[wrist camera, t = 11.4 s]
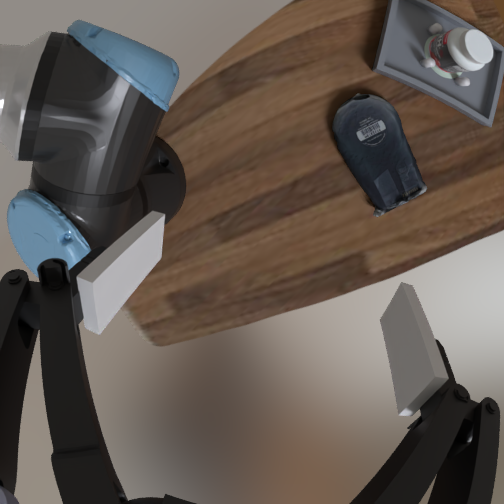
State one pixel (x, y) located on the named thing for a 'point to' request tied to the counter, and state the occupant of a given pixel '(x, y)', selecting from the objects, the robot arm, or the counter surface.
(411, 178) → the electronic device
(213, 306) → the counter surface
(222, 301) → the counter surface
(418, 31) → the tray
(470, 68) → the pill bottle
